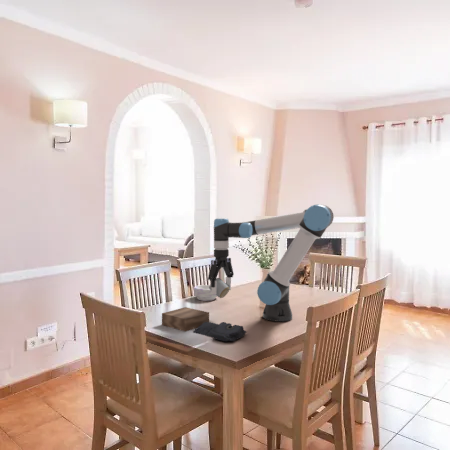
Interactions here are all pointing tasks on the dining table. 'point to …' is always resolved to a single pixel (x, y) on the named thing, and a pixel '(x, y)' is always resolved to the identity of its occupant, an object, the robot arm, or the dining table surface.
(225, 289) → the ceramic mug
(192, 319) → the walnut riser block
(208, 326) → the black flat crumpled piece
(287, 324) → the dining table surface
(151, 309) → the dining table surface
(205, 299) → the paper bowls
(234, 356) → the dining table surface
